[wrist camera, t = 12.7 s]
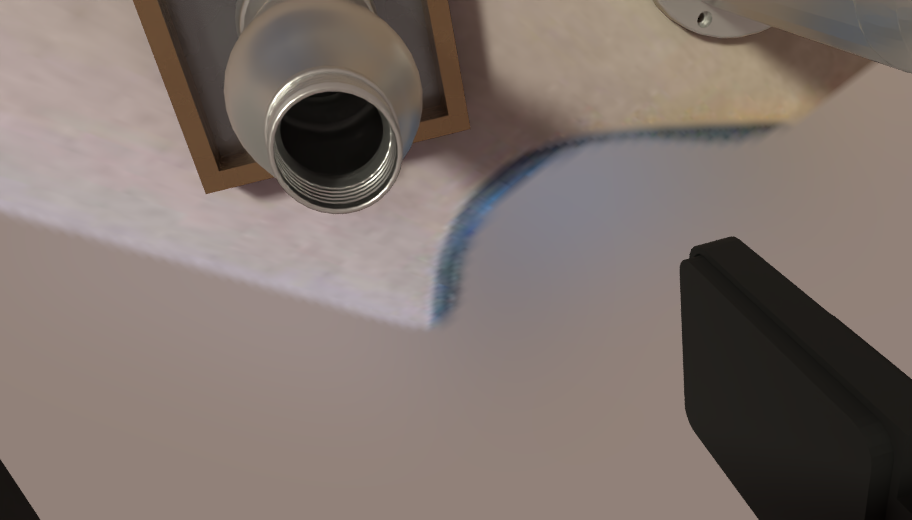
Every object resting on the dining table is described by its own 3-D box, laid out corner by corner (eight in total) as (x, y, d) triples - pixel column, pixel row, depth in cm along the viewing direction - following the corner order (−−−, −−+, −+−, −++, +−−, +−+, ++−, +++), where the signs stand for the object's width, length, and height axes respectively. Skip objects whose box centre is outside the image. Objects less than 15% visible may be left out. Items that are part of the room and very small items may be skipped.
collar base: (407, -171, 36) (420, -174, 32) (458, 112, 42) (473, 133, 39) (106, -109, 34) (88, -106, 31) (210, 172, 41) (204, 200, 38)
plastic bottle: (308, -88, 35) (343, -35, 18) (400, 27, 39) (502, 165, 21) (207, 4, 36) (148, 137, 19) (305, 108, 40) (330, 303, 22)
